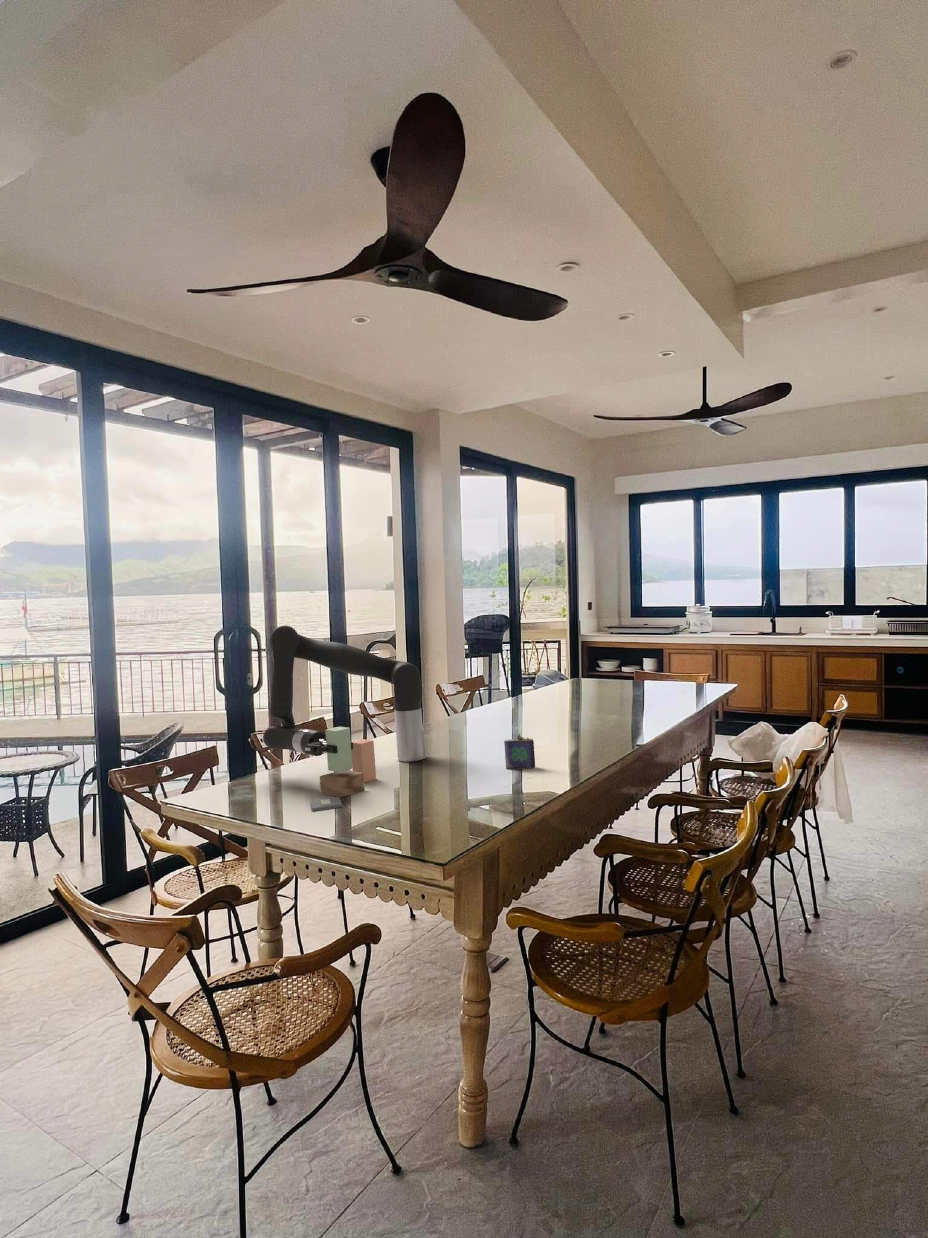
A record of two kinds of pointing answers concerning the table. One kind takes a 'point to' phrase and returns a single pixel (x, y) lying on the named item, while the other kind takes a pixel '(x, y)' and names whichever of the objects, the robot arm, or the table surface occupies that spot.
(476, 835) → the table surface
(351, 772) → the walnut base
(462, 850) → the table surface
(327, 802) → the tile
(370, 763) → the terracotta pillar
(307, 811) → the table surface
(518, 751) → the flask
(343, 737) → the sage pillar
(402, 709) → the robot arm
